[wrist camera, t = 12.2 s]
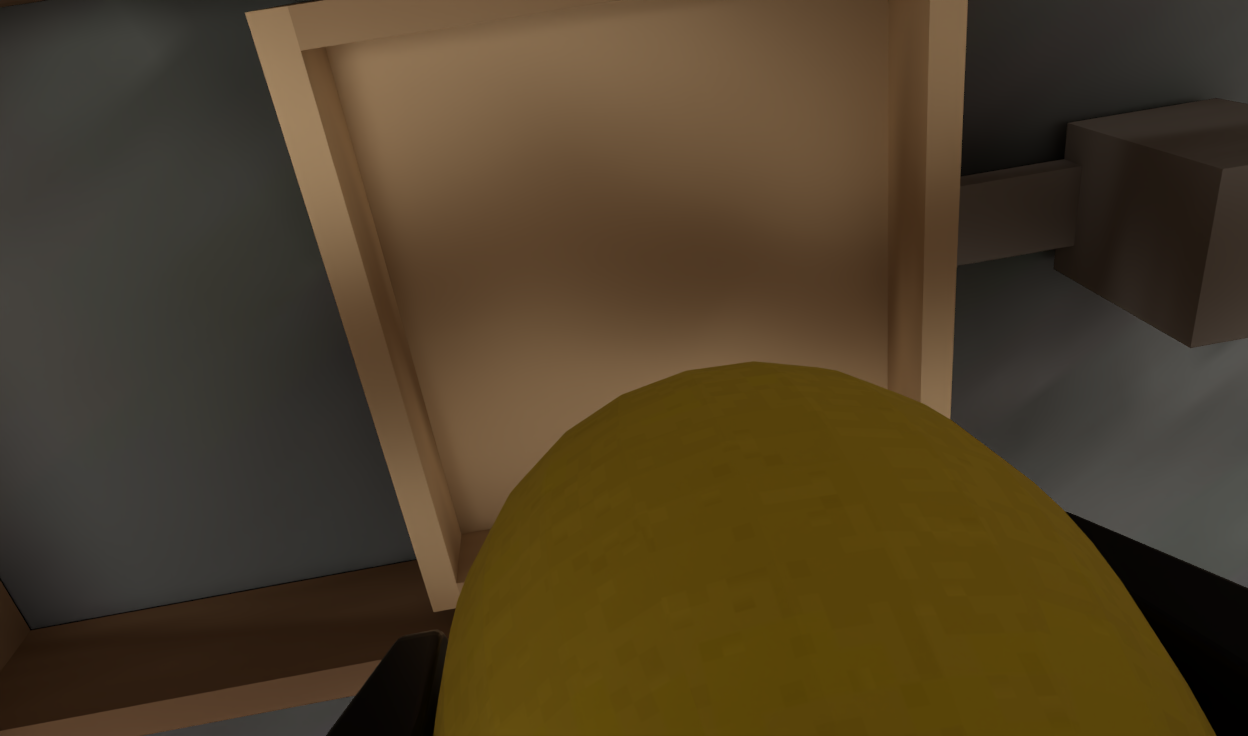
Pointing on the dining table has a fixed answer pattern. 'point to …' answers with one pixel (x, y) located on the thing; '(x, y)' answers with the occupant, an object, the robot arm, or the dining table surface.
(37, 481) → the dining table surface
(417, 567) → the open wooden box
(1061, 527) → the lemon
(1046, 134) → the dining table surface
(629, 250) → the wooden drawer
